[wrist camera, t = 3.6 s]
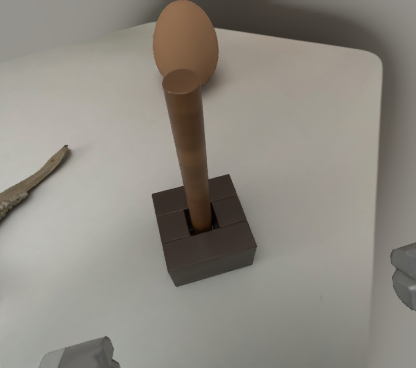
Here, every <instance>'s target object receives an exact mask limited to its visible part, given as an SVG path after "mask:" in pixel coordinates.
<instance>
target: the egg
mask: <svg viewBox="0 0 416 368" xmlns="http://www.w3.org/2000/svg"><path fill="white" fill-rule="evenodd" d="M153 52H154V59H155V62H156V65H157V67H158V69H159V71H160V73H161V75H162V76H163V77H165V76H166V75H167V74H168V73H169V72H171V71H173V70H176V69H190V70H192V71H194V72H196V73H197V74H198V75H199V77H200V80H201V86H202V85H204V84H205V83H206V82H207V81H208V80H209V79H210V78H211V76H212V75H213V73H214V71H215V69H216V65H217V61H218V52H219V49H218V41H217V36H216V32H215V29H214V27H213V25H212V23H211V21H210V19H209V18H208V16H207V15H206V13H205V12H204V11H203V10H202V9H201V8H200V7H199V6H198V5H196V4H194V3H193V2H190V1H187V0H178V1H175V2H173V3H171V4H169V5H168V6H167V7H166V8H165V9H164V10H163V11H162V13H161V15H160V17H159V19H158V21H157V23H156V27H155V31H154V35H153Z"/></svg>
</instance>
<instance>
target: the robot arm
mask: <svg viewBox="0 0 416 368" xmlns="http://www.w3.org/2000/svg"><path fill="white" fill-rule="evenodd" d="M390 257H391V264H392V265H393V266H394V267H395V268H396V271H395V272H394V274H393V276H392V280H393V287H394V290H395V292H396V294H397V296H398V298H399V299H400V300H401V301H402V302H403V303H404V304H405V305H406V306H407V307H409V308H410V309H411V310H415V311H416V243H412V244H409V245H406V246H403V247H400V248H397V249H394V250H392V252H391V255H390ZM113 351H114V348H113V345H112V343H111V340H110V338H108V337H107V336H105V337H102V338H98V339H94V340H91V341H87V342H84V343H80V344H77V345H73V346H69V347H68V348H62V349H59V350H56V351H53V352H49V353H48V354H46V355H45V356H44V357H43V359H42V361H41V363H40V365H39V367H38V368H120V365H119V363H118V362H116V361H115V360H113V359H112V357H113Z"/></svg>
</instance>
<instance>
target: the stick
mask: <svg viewBox="0 0 416 368" xmlns="http://www.w3.org/2000/svg"><path fill="white" fill-rule="evenodd" d="M162 86H163V90H164V95H165V100H166V104H167V109H168V114H169V119H170V123H171V128H172V133H173V137H174V142H175V147H176V152H177V156H178V161H179V166H180V170H181V175H182V180H183V184H184V189H185V194H186V199H187V203H188V208H189V213H190V217H191V222H192V227H193V232H194V235H197V234H200V233H204V232H208V231H211V230H212V219H211V206H210V194H209V181H208V169H207V156H206V143H205V131H204V118H203V105H202V93H201V80H200V77H199V75H198V74H197V73H196V72H194V71H192V70H190V69H176V70H173V71H171V72H169V73H168V74H167V75H166V76H165V77H164V79H163V82H162Z"/></svg>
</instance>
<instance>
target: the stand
mask: <svg viewBox="0 0 416 368" xmlns="http://www.w3.org/2000/svg"><path fill="white" fill-rule="evenodd" d="M208 181H209V194H210V206H211V219H212V225H213V226H214V230H211V231H208V232H204V233H200V234H197V235H193V236H190V232H189V231H192V230H193V227H192V222H191V217H190V213H189V208H188V203H187V199H186V194H185V189H184V186H181V187H177V188H173V189H170V190H166V191H162V192H158V193H154V194H152V199H153V204H154V208H155V213H156V217H157V223H158V227H159V232H160V237H161V242H162V246H163V251H164V256H165V260H166V265H167V270H168V273H169V275H170V276H171V278H172V280H173V282H174V284H175V286H176V287H178V286H181V285H184V284H188V283H191V282H194V281H198V280H201V279H205V278H208V277H211V276H215V275H218V274H221V273H225V272H228V271H232V270H235V269H238V268H242V267H245V266H248V265H252V263H253V259H254V255H255V251H256V247H257V245H256V243H255V240H254V237H253V235H252V232H251V230H250V227H249V224H248V222H247V219H246V217H245V214H244V211H243V209H242V206H241V204H240V201H239V198H238V196H237V193H236V191H235V188H234V185H233V183H232V180H231V178H230V175H229V174H227V175H223V176H219V177H216V178H212V179H208Z"/></svg>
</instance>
